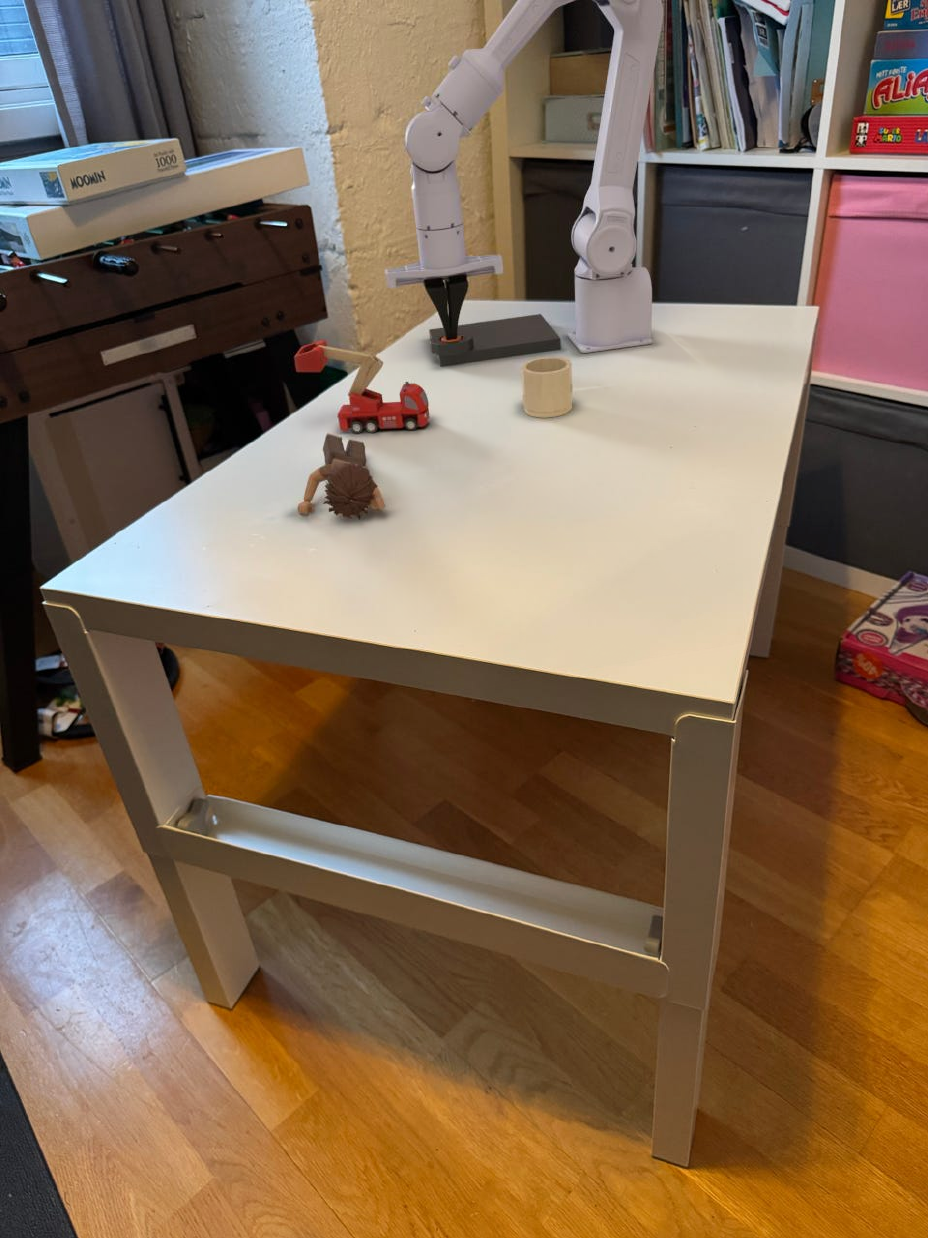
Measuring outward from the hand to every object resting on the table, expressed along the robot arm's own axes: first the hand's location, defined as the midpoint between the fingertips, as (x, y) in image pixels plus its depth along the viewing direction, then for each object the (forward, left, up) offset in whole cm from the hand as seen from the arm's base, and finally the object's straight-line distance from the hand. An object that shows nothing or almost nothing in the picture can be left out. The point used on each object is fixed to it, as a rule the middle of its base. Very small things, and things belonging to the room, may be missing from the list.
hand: (451, 337), depth 114 cm
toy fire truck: (+12, +19, -3) cm, 23 cm away
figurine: (+16, +35, -3) cm, 39 cm away
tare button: (0, 0, -1) cm, 1 cm away
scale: (-6, -4, -3) cm, 8 cm away
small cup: (-8, +21, -3) cm, 23 cm away
